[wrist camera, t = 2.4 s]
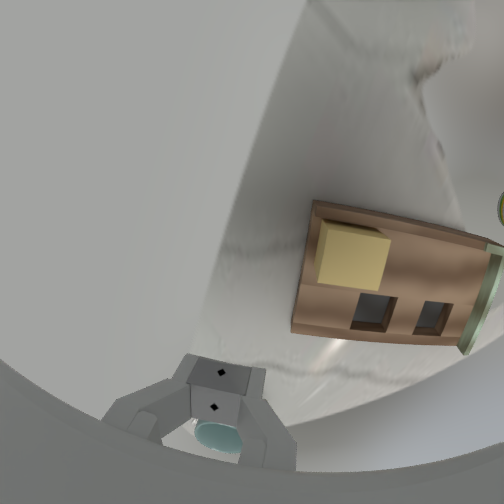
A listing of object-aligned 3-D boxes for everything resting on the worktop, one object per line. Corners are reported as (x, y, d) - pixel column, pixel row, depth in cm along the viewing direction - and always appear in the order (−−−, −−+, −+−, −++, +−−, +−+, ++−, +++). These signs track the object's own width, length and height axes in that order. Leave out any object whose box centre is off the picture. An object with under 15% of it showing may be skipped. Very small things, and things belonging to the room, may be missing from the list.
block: (322, 218, 28) (328, 229, 23) (376, 228, 27) (391, 240, 23) (313, 264, 30) (317, 282, 25) (365, 272, 29) (377, 290, 24)
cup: (219, 366, 39) (200, 415, 29) (267, 383, 39) (260, 435, 29) (206, 396, 41) (188, 441, 32) (250, 411, 41) (240, 458, 32)
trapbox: (313, 200, 30) (317, 206, 25) (488, 238, 28) (511, 250, 22) (291, 322, 35) (289, 347, 30) (454, 336, 32) (469, 357, 27)
